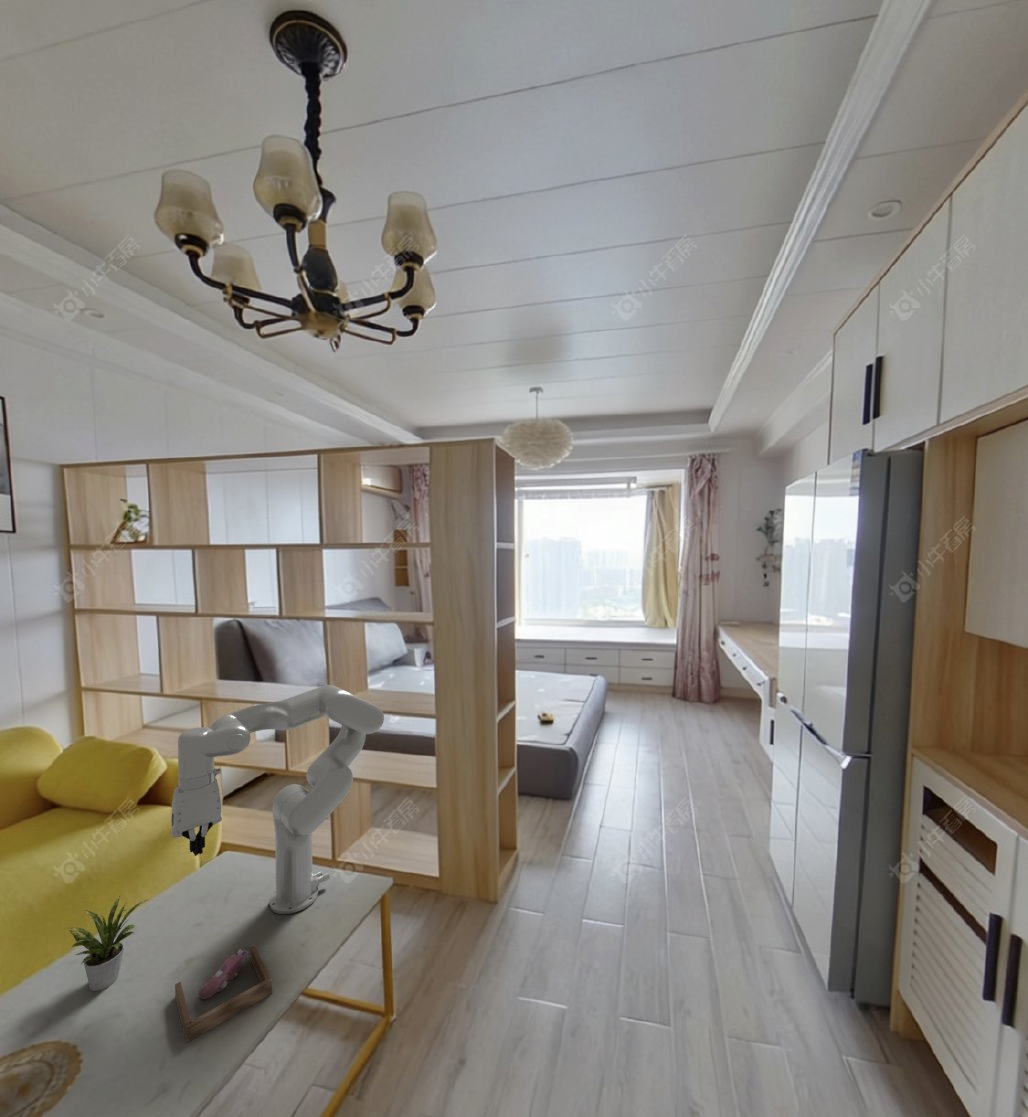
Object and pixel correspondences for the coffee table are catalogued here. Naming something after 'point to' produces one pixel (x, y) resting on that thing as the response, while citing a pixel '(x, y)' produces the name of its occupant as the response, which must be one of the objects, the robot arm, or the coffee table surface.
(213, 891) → the coffee table surface
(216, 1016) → the dock bay
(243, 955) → the video game controller
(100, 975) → the house plant
